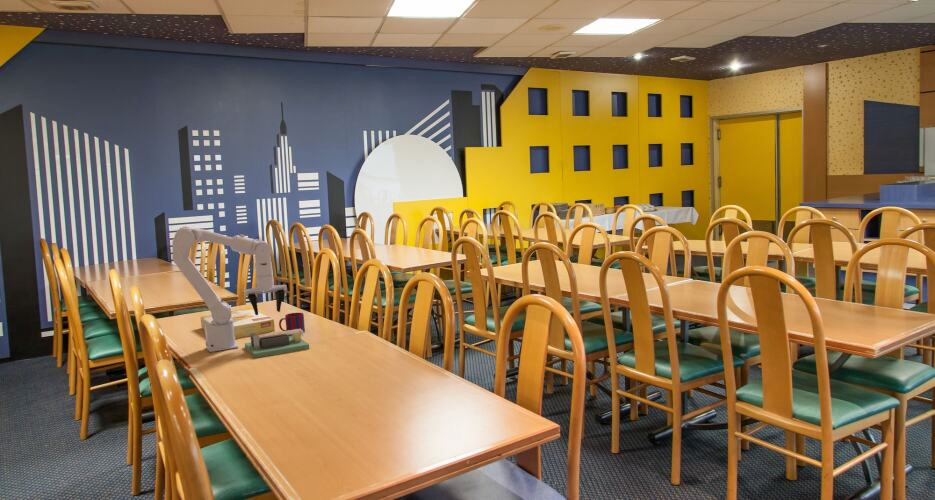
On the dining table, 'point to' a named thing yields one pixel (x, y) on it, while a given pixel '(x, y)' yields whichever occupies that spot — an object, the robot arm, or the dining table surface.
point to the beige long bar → (281, 333)
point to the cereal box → (246, 322)
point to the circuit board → (277, 348)
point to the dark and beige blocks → (272, 340)
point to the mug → (293, 321)
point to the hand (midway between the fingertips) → (267, 313)
